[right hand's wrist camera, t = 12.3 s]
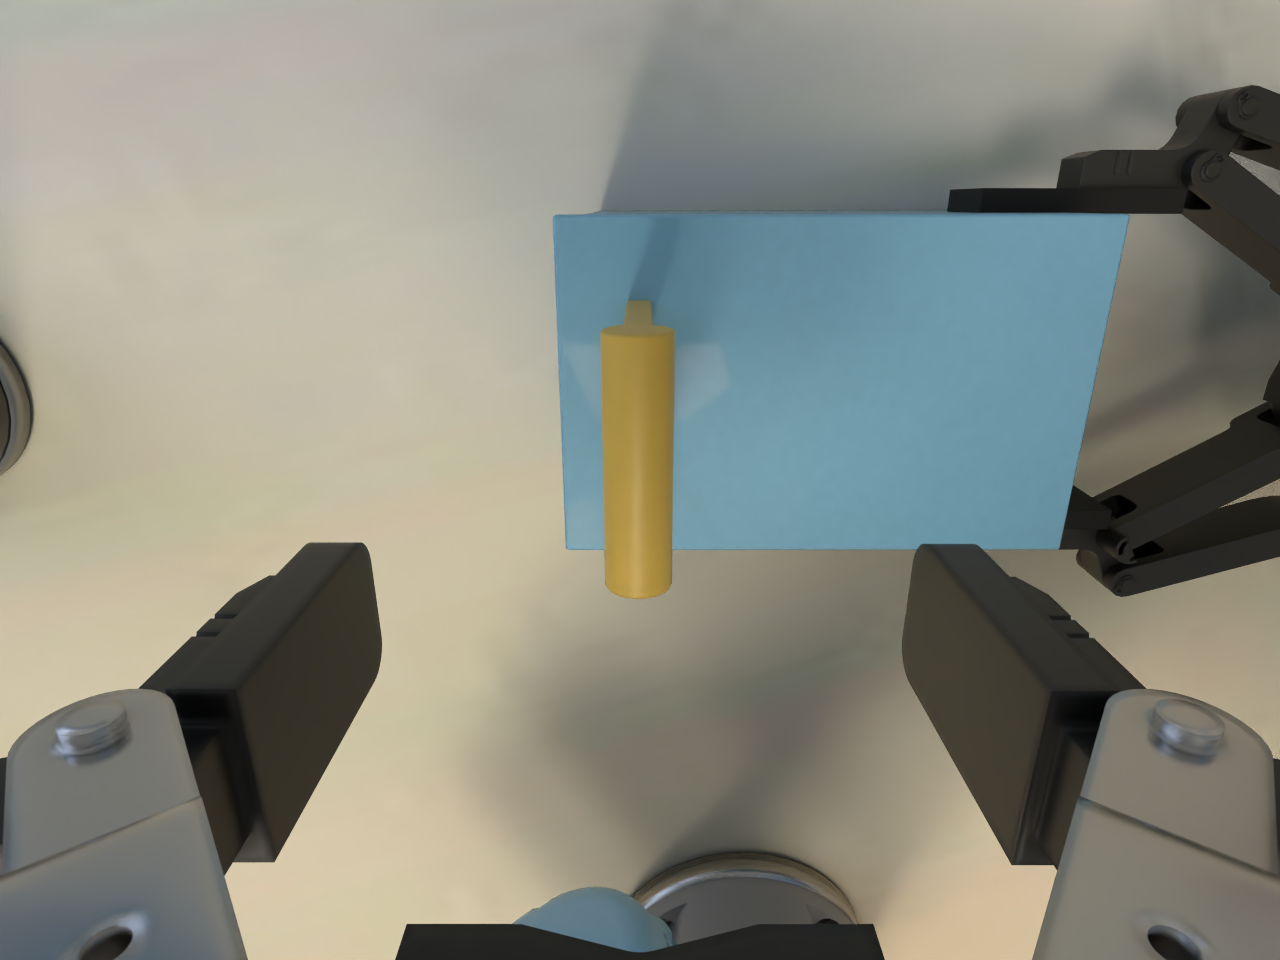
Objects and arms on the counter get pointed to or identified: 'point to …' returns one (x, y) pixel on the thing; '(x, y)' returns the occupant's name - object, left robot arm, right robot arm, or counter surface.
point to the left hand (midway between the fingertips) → (940, 364)
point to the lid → (824, 380)
